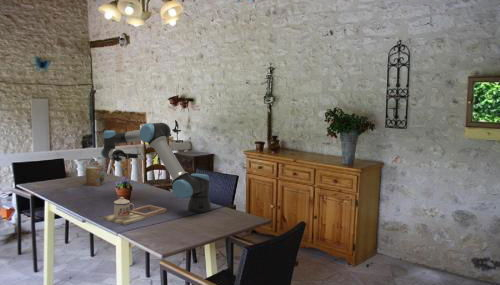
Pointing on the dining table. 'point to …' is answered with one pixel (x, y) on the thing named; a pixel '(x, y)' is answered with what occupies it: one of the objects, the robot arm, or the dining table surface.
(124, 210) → the teacup with lid
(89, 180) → the milk carton
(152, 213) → the wooden picture frame
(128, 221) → the ash board
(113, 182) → the dining table surface
